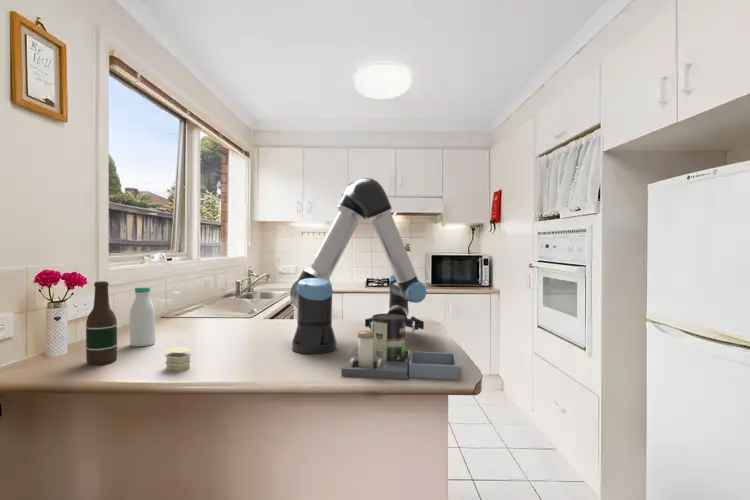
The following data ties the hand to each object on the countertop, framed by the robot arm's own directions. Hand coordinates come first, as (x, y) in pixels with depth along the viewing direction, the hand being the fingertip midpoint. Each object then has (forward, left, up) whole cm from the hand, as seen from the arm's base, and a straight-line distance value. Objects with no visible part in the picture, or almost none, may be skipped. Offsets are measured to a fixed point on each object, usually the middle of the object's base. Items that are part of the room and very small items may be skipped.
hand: (392, 328), depth 139 cm
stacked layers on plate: (-60, -25, -9) cm, 65 cm away
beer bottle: (-85, -23, -9) cm, 88 cm away
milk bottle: (-87, -2, -9) cm, 87 cm away
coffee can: (0, -9, -9) cm, 12 cm away
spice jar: (-6, -19, -8) cm, 22 cm away
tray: (+13, -16, -8) cm, 22 cm away
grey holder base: (-3, -13, -8) cm, 16 cm away
